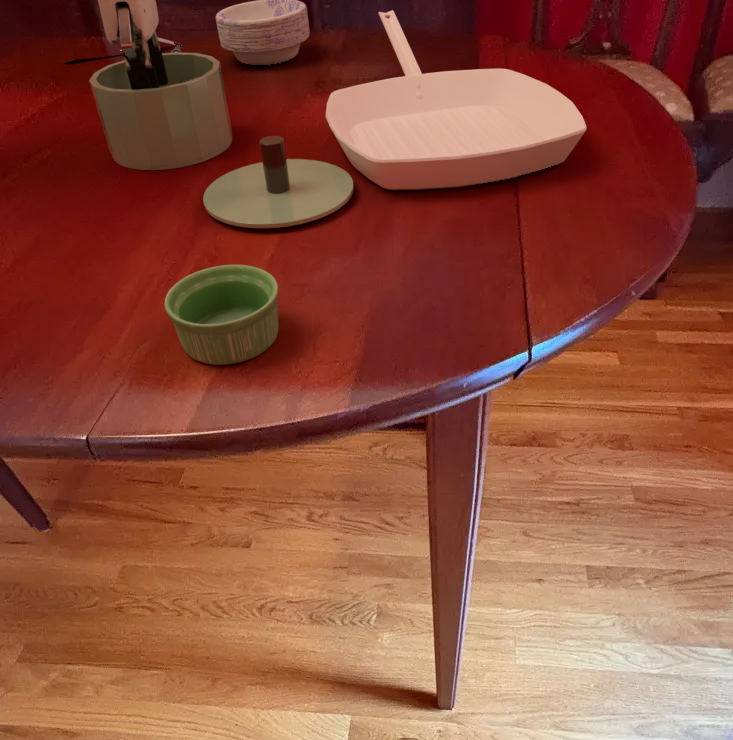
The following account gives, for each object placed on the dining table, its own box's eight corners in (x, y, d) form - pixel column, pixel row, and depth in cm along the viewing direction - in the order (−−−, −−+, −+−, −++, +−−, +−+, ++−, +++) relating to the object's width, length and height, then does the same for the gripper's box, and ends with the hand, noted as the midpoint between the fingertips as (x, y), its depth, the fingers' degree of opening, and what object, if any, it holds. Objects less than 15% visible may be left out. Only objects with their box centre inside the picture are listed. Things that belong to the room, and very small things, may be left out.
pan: (358, 213, 76) (352, 124, 70) (296, 88, 111) (288, 21, 105) (613, 173, 80) (627, 86, 74) (476, 64, 115) (478, -1, 109)
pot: (101, 175, 88) (77, 96, 82) (123, 130, 101) (103, 58, 95) (229, 163, 89) (214, 84, 83) (235, 119, 101) (222, 48, 95)
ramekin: (299, 312, 62) (293, 268, 60) (261, 377, 56) (252, 331, 53) (204, 302, 64) (194, 259, 62) (157, 364, 58) (143, 319, 55)
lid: (198, 240, 74) (184, 179, 70) (210, 174, 87) (199, 120, 83) (360, 225, 74) (356, 163, 70) (348, 161, 87) (344, 106, 83)
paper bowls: (205, 65, 123) (195, 14, 118) (266, 42, 133) (259, -6, 128) (269, 77, 116) (262, 23, 111) (330, 52, 125) (325, 2, 120)
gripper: (93, -82, 86) (133, 75, 97) (59, -60, 72) (109, 120, 84) (157, -87, 86) (189, 70, 97) (134, -66, 73) (174, 114, 84)
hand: (152, 91), depth 90 cm, fingers open, 5 cm apart
